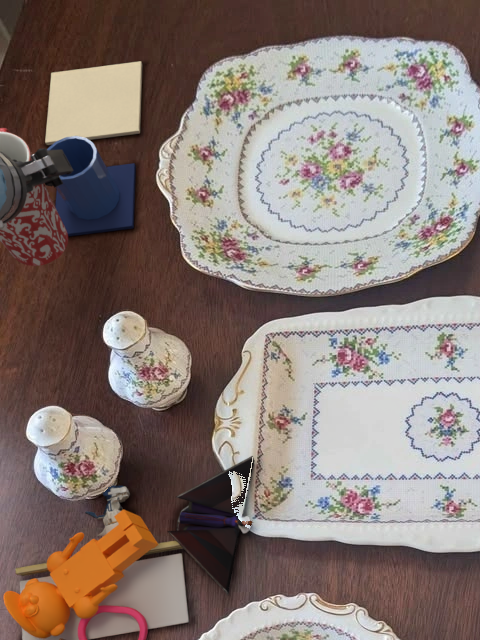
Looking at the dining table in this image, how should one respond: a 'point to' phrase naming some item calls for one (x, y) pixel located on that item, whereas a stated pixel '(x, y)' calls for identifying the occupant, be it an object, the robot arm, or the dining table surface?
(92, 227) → the navy mat
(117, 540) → the toy
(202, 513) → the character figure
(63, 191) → the blue cup
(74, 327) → the dining table surface
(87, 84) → the cream mat
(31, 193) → the mug
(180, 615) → the sign holder
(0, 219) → the robot arm
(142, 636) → the fitness band
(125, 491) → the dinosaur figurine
